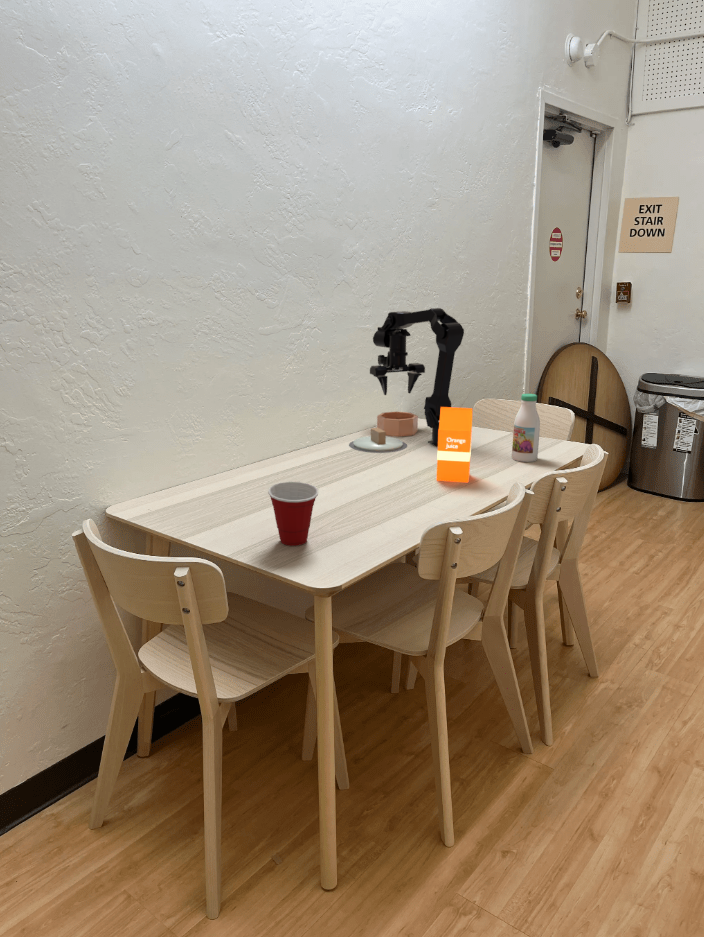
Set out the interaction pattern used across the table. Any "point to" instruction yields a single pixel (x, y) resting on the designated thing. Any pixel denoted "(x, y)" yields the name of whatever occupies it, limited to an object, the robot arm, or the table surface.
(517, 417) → the milk bottle
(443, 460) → the orange juice
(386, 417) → the bowl
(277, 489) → the plastic cup
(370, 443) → the lid
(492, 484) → the table surface
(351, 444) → the mat
